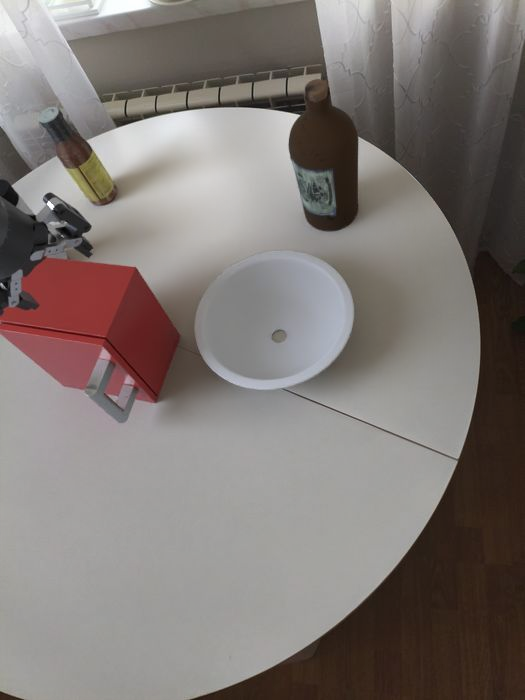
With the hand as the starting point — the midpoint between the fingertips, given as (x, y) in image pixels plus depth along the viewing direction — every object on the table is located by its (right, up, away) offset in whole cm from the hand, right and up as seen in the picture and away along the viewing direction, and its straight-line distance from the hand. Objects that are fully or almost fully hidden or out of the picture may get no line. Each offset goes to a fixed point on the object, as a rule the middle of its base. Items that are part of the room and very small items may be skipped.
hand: (59, 276), depth 64 cm
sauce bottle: (-9, +22, +47) cm, 53 cm away
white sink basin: (+26, -7, +24) cm, 36 cm away
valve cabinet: (+1, -10, +27) cm, 29 cm away
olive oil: (+36, +16, +34) cm, 51 cm away
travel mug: (-16, +7, +40) cm, 44 cm away
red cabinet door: (-2, -18, +23) cm, 29 cm away
